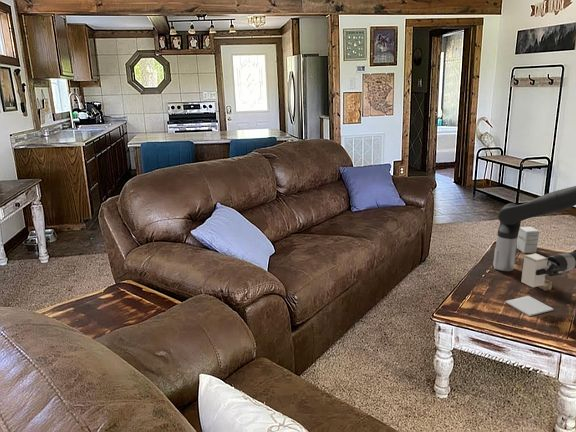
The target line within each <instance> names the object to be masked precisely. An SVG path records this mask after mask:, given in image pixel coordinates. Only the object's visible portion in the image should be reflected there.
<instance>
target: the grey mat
mask: <svg viewBox="0 0 576 432" xmlns="http://www.w3.org/2000/svg"><path fill="white" fill-rule="evenodd" d="M504 303H506V304H507V305H510V306H511V307H513V308H515V309H516V310H517V311H519V312H521V313H523V314H524V315H526V316H528V317H531V316H536V315H539V314H543V313H548V312H553V311H554V308H553V307H551V306H549V305H547V304H545V303H543V302H542V301H539V300H537V299H535V298H534V297H532V296H530V295H525V296H521V297H517V298H516V297H515V298H513V299H508V300H505V301H504Z"/></svg>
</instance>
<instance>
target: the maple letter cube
mask: <svg viewBox="0 0 576 432" xmlns="http://www.w3.org/2000/svg"><path fill="white" fill-rule="evenodd" d="M552 286H553V282H552V281H551V280H548V279H546V278H545V281H544V285H541V286H538V288H539V289H541V290H543V291H550V290H552Z"/></svg>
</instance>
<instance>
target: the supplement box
mask: <svg viewBox="0 0 576 432" xmlns="http://www.w3.org/2000/svg"><path fill="white" fill-rule="evenodd" d="M539 236H540V230H538V229H536V228H534V227H532V226H520V230H519V233H518V239H517V247H516V250H517V249H518V250H519V251H521V252H522V253H524V254H534V253H537V249H538V243H539V238H540V237H539Z"/></svg>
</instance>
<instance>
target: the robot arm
mask: <svg viewBox="0 0 576 432" xmlns="http://www.w3.org/2000/svg"><path fill="white" fill-rule="evenodd" d="M575 206H576V185H574V186H570V187H566V188H562V189H558V190H555V191H552V192H548V193H545V194H543V195H539V196H538V197H537V198H534V199H532V200H530V201H527V202H525V203H521V204H516V203H512V202H509V203H507V204H505V205H504V206H502V208H501V209H500V210H499V212H498V215H497V218H498V220H499V226H498V229H497V233H496V234H497V236H496V243H495V247H494V253H493V254H494V255H493V264H492V266H493V267H494V270H498V271H501V272H512V271H514V269H515V260H516V253H517V243H518V236H519V230H520V227H521V223H522V222H523V221H525V220H528V219H532V218H535V217H540V216H544V215H550V214H553V213H557V212H561V211H565V210H569V209H571V208H573V207H575ZM546 258H548V260H547V267H546V268H544V269H539V270H536V275H542V274H544V275H545V276H546V275H548V277H556V276H562V275H563V273H564V272H568V271H571V270H574V269H576V249H574V250H573V251H571V252H566V253H559V254H558V253H557V254H553V255H550V256H547V257H546Z"/></svg>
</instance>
